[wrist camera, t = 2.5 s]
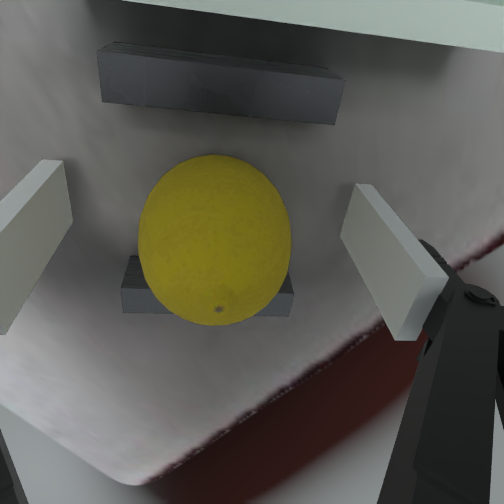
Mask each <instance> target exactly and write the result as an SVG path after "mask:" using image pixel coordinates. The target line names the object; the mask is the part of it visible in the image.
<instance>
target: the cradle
mask: <svg viewBox="0 0 504 504" xmlns="http://www.w3.org/2000/svg"><path fill="white" fill-rule="evenodd" d="M97 56H98V66H99V76H100V86H101V96H102V102H107V103H117V104H127V105H137V106H147V107H157V108H167V109H177V110H187V111H197V112H207V113H217V114H227V115H237V116H247V117H257V118H267V119H277V120H287V121H297V122H307V123H317V124H327V125H335V121H336V117H337V113H338V109H339V105H340V100H341V96H342V92H343V88H344V84H345V80H344V79H343V78H341V77H340V76H338V75H336V74H335V73H333V72H332V71H330V70H329V69H327V68H323V67H315V66H306V65H298V64H290V63H282V62H274V61H265V60H257V59H249V58H241V57H233V56H225V55H216V54H208V53H200V52H192V51H184V50H175V49H167V48H159V47H151V46H143V45H135V44H126V43H118V42H113V43H111V44H109V45H108V46H106V47H104V48H102V49H100V50H98V51H97ZM121 296H122V306H123V313H163V314H174V313H173V312H171V311H169V310H168V309H167V308H166V307H165V306H164V305H163V304H162V303H161V302H160V301H159V300H158V299H157V298H156V297H155V295H154V294H153V292H152V290H151V289H150V287H149V285H148V284H147V282H146V280H145V277H144V273H143V269H142V266H141V262H140V258H139V256H130V259H129V262H128V266H127V269H126V272H125V276H124V279H123V282H122V286H121ZM293 296H294V292H293V288H292V285H291V281H290V277H289V274H288V271H287V275H286V277H285V279H284V281H283V283H282V285H281V287H280V289H279V291H278V293H277V294H276V295H275V296H274V298H273V299H272V300H271V301H270V302H269V303H268V304H267V306H266V307H264V308H263V309H261V310H260V311H259V312H257V313H256V314H255V315H253V316H289V313H290V308H291V304H292V300H293Z"/></svg>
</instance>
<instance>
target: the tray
mask: <svg viewBox="0 0 504 504" xmlns="http://www.w3.org/2000/svg"><path fill="white" fill-rule="evenodd" d="M124 1H131V2H138V3H146V4H153V5H160V6H167V7H175V8H182V9H189V10H196V11H204V12H211V13H218V14H225V15H233V16H240V17H247V18H254V19H262V20H269V21H276V22H283V23H291V24H298V25H305V26H313V27H320V28H327V29H334V30H342V31H349V32H356V33H363V34H371V35H378V36H385V37H392V38H400V39H407V40H414V41H421V42H429V43H436V44H443V45H450V46H458V47H465V48H472V49H479V50H487V51H494V52H501V53H504V0H124Z"/></svg>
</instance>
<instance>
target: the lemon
mask: <svg viewBox="0 0 504 504" xmlns="http://www.w3.org/2000/svg"><path fill="white" fill-rule="evenodd" d="M291 247H292V238H291V230H290V222H289V216H288V212H287V210H286V208H285V205H284V203H283V201H282V199H281V196H280V194H279V192H278V191H277V189H276V188H275V187H274V186H273V184H272V183H271V182H270V181H269V180H268V178H267V177H266V176H265V175H264V174H263V173H262V172H260V171H259V170H257V169H256V168H254V167H253V166H252V165H250V164H249V163H247V162H245V161H242V160H239V159H237V158H234V157H231V156H224V155H215V154H212V155H205V156H197V157H194V158H191V159H189V160H186V161H184V162H181V163H179V164H178V165H176V166H175V167H174V168H172V169H171V170H170V171H168V172H167V173H166V174H164V175H163V176H162V177H161V179H160V180H159V181H158V183H157V184H156V185H155V187H154V188H153V189H152V191H151V192H150V194H149V195H148V198H147V200H146V203H145V206H144V208H143V211H142V213H141V216H140V220H139V233H138V253H139V258H140V262H141V266H142V269H143V273H144V277H145V280H146V282H147V284H148V285H149V287H150V289H151V290H152V292H153V294H154V295H155V297H156V298H157V299H158V300H159V301H160V302H161V303H162V304H163V305H164V306H165V307H166V308H167V309H168V310H169V311H171V312H173V313H174V314H176V315H178V316H180V317H181V318H183V319H185V320H188V321H191V322H194V323H197V324H202V325H210V326H217V325H228V324H232V323H237V322H240V321H242V320H245V319H247V318H249V317H251V316H253V315H255V314H256V313H257V312H259V311H260V310H261V309H263V308H264V307H266V306H267V304H268V303H269V302H270V301H271V300H272V299H273V298H274V296H275V295H276V294H277V293H278V291H279V289H280V287H281V285H282V283H283V281H284V279H285V277H286V275H287V271H288V267H289V261H290V255H291Z"/></svg>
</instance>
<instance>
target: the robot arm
mask: <svg viewBox="0 0 504 504" xmlns="http://www.w3.org/2000/svg"><path fill="white" fill-rule="evenodd" d="M72 222H73V217H72V211H71V205H70V199H69V193H68V187H67V181H66V175H65V170H64V164H63V161H58V160H45V159H42V160H41V161H40V162H39V163H38V164H37V165H36V166H35V167H34V168H33V169H32V170H31V171H30V172H29V173H28V174H27V175H26V176H25V177H24V178H23V179H22V180H21V181H20V182H19V183H18V184H17V185H16V186H15V187H14V188H13V189H12V190H11V191H10V192H9V193H8V194H7V195H6V196H5V197H4V198H3V199H2V200H1V201H0V335H5V334H6V333H7V331H8V329H9V328H10V326H11V324H12V323H13V321H14V319H15V318H16V316H17V314H18V313H19V311H20V309H21V308H22V306H23V304H24V303H25V301H26V299H27V298H28V296H29V294H30V293H31V291H32V289H33V288H34V286H35V284H36V283H37V281H38V279H39V278H40V276H41V274H42V273H43V271H44V269H45V268H46V266H47V264H48V263H49V261H50V259H51V258H52V256H53V254H54V253H55V251H56V249H57V248H58V246H59V244H60V243H61V241H62V239H63V237H64V236H65V234H66V232H67V231H68V229H69V227H70V226H71V224H72ZM340 238H341V239H342V241H343V243H344V245H345V247H346V249H347V251H348V253H349V255H350V256H351V258H352V260H353V262H354V264H355V266H356V268H357V270H358V272H359V273H360V275H361V277H362V279H363V281H364V283H365V285H366V287H367V288H368V290H369V292H370V294H371V296H372V298H373V300H374V302H375V304H376V305H377V307H378V309H379V311H380V313H381V315H382V317H383V319H384V321H385V322H386V324H387V326H388V328H389V330H390V332H391V334H392V336H393V338H394V339H395V340H403V341H406V340H407V341H409V340H410V341H416V340H417V338H418V336H419V334H420V332H421V330H422V328H424V330H425V332H426V333H427V335H428V336H429V337H428V339H427V341H426V342H425V344H424V346H423V348H422V350H421V351H420V353H419V355H418V357H417V359H416V360H417V361H419V364H418V367H417V371H416V374H415V378H414V381H413V384H412V388H411V391H410V394H409V397H408V401H407V404H406V408H405V411H404V414H403V418H402V421H401V424H400V428H399V431H398V435H397V438H396V441H395V444H394V448H393V451H392V454H391V458H390V462H389V465H388V468H387V471H386V475H385V478H384V482H383V485H382V488H381V492H380V495H379V498H378V501H377V504H489V499H490V482H491V465H492V447H493V429H494V412H495V399H496V403H497V407H498V410H499V414H500V418H501V421H502V425H503V429H504V306H500V303H499V301H498V299H497V298H496V297H495V296H494V295H492V294H491V293H490V292H488V291H487V290H485V289H483V288H480V287H478V286H475V285H471V284H465V283H464V282H463V281H462V279H461V278H460V277H459V276H458V275H457V274H456V273H455V271H454V270H453V269H452V268H451V267H450V266H449V265H448V264H447V262H446V261H445V260H444V259H443V258H442V257H441V255H440V254H439V253H438V252H437V251H436V250H435V249H434V247H432V246H431V245H429V244H428V243H426V242H425V241H423V240H418V239H417V238H416V237H415V236H414V235H413V234H412V232H411V231H410V230H409V229H408V228H407V226H406V225H405V224H404V223H403V222H402V220H401V219H400V218H399V217H398V216H397V214H396V213H395V212H394V211H393V210H392V209H391V207H390V206H389V205H388V204H387V203H386V201H385V200H384V199H383V198H382V197H381V195H380V194H379V193H378V192H377V191H376V189H375V188H374V187H373V186H372V185H370V184H357V183H355V186H354V189H353V193H352V196H351V199H350V203H349V206H348V210H347V213H346V216H345V220H344V223H343V226H342V230H341V233H340ZM0 504H28V501H27V498H26V496H25V493H24V490H23V488H22V485H21V482H20V480H19V477H18V475H17V472H16V469H15V467H14V464H13V461H12V459H11V456H10V453H9V451H8V448H7V445H6V443H5V440H4V438H3V435H2V432H1V430H0Z"/></svg>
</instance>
